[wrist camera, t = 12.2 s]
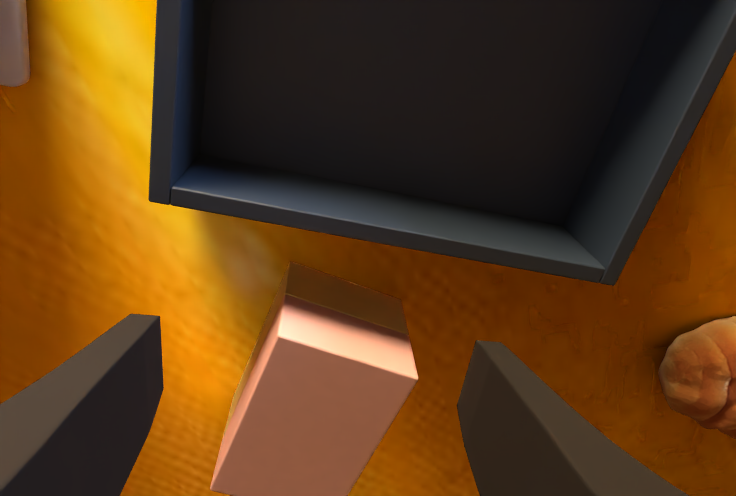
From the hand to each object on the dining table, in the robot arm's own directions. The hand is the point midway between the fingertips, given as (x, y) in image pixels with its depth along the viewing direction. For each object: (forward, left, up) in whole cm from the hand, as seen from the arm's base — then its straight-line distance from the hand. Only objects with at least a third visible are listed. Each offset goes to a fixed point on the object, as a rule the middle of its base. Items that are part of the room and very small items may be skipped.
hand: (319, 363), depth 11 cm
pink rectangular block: (+1, -6, -9) cm, 11 cm away
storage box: (+2, +8, -9) cm, 12 cm away
